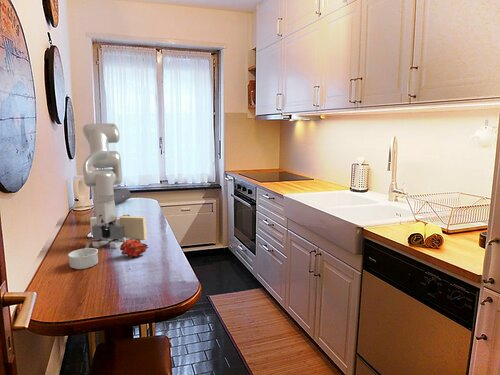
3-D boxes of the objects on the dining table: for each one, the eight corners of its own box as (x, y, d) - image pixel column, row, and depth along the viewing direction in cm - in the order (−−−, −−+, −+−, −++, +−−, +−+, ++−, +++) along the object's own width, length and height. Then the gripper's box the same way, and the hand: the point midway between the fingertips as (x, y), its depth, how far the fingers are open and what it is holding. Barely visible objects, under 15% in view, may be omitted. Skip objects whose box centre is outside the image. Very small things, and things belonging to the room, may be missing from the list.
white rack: (94, 235, 195) (92, 215, 193) (147, 237, 189) (145, 216, 187) (72, 246, 178) (69, 223, 176) (129, 249, 172) (127, 226, 170)
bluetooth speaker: (114, 207, 261) (113, 193, 259) (103, 207, 263) (101, 193, 261) (132, 201, 283) (131, 188, 281) (121, 200, 285) (120, 187, 283)
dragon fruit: (118, 260, 162) (147, 261, 165) (117, 254, 155) (147, 256, 158) (121, 241, 166) (148, 243, 169) (120, 235, 159) (149, 237, 162)
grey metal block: (97, 236, 181) (96, 224, 180) (124, 236, 179) (123, 224, 178) (93, 238, 177) (91, 226, 176) (121, 239, 175) (120, 226, 174)
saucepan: (103, 252, 168) (102, 241, 167) (97, 269, 149) (96, 255, 148) (75, 255, 165) (74, 243, 164) (66, 272, 146) (64, 258, 145)
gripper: (108, 195, 184) (111, 230, 187) (87, 202, 168) (91, 241, 171) (122, 195, 182) (125, 231, 185) (102, 202, 166) (105, 241, 169)
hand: (108, 235), depth 178 cm, fingers closed on grey metal block, 4 cm apart
